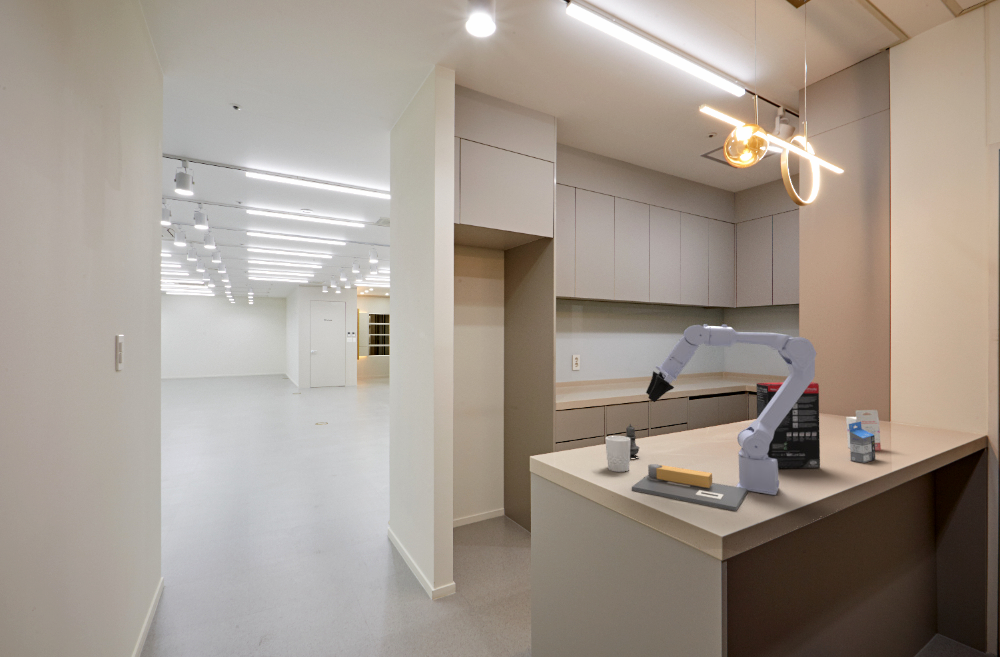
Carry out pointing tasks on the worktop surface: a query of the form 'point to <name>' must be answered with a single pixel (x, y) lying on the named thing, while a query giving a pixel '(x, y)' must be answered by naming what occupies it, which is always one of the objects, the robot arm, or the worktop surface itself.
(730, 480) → the worktop surface
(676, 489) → the label board
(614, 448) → the white cup
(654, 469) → the swing bar
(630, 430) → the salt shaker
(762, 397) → the graphics card box
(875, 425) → the ink cartridge box
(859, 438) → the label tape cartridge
